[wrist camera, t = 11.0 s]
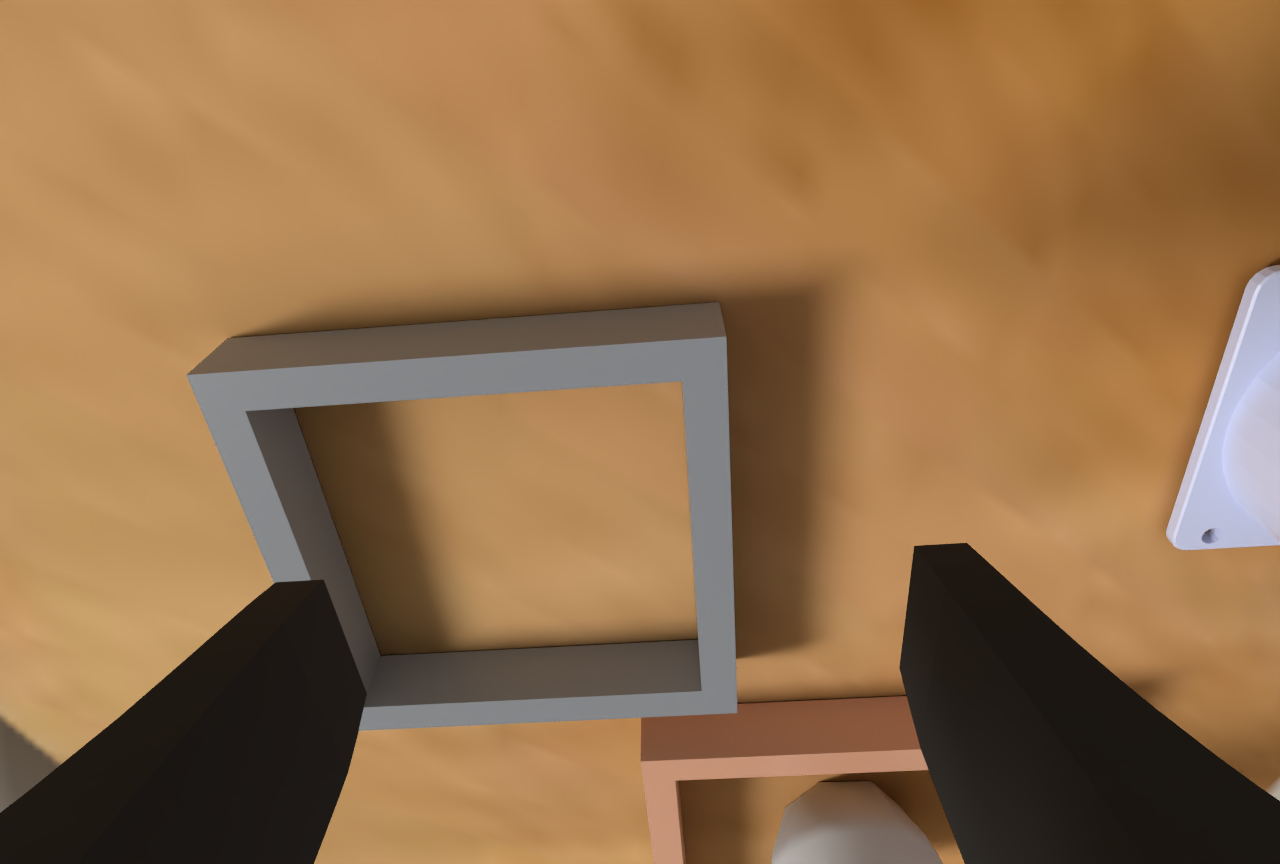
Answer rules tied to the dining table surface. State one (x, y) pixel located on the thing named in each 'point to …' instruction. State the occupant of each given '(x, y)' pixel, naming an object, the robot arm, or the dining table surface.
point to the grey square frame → (465, 366)
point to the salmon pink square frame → (768, 750)
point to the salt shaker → (850, 828)
